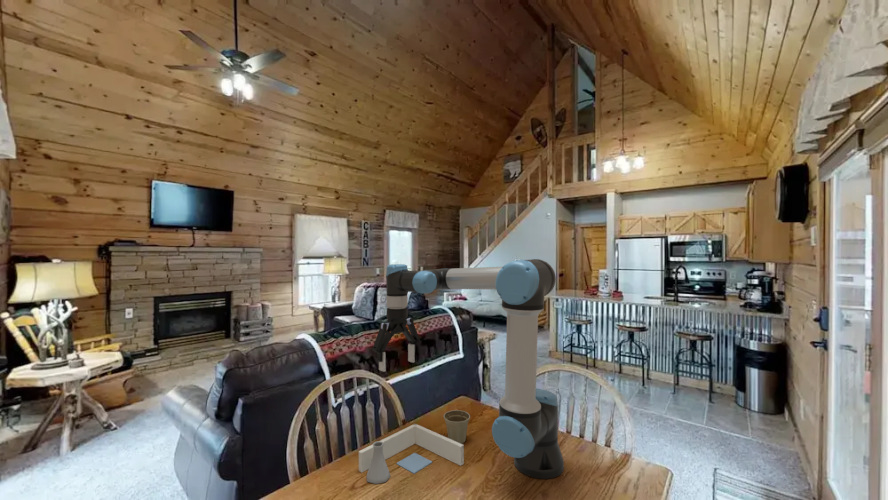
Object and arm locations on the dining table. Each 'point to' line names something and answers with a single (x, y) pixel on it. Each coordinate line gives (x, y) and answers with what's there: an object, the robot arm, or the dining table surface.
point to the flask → (378, 465)
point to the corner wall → (415, 436)
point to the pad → (414, 463)
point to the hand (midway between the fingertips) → (397, 366)
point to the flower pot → (457, 425)
